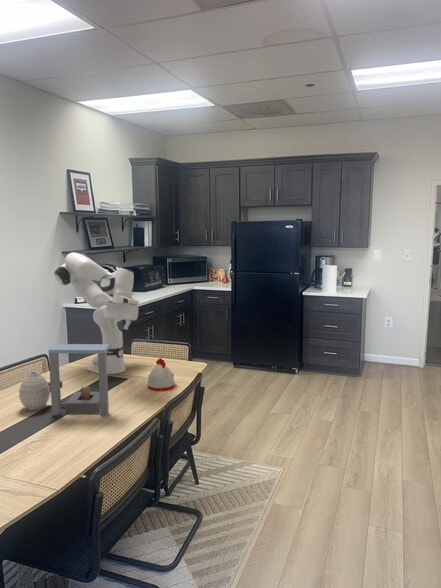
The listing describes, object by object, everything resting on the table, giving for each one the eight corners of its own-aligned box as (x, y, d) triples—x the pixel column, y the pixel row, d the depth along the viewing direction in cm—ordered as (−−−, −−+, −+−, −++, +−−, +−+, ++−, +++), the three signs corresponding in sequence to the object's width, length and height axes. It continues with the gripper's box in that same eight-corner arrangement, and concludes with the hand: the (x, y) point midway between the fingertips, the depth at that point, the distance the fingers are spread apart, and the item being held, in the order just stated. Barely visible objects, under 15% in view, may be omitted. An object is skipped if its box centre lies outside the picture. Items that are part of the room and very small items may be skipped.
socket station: (65, 400, 206) (62, 340, 201) (115, 400, 206) (113, 340, 201) (52, 415, 189) (48, 349, 185) (107, 415, 189) (104, 350, 185)
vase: (21, 404, 200) (18, 370, 198) (50, 401, 205) (49, 367, 202) (19, 415, 189) (16, 379, 186) (50, 411, 193) (48, 375, 191)
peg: (80, 406, 199) (79, 388, 197) (87, 404, 201) (87, 385, 200) (84, 409, 196) (83, 390, 194) (92, 406, 199) (91, 387, 197)
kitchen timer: (156, 393, 216) (155, 364, 213) (142, 385, 226) (142, 357, 224) (179, 387, 224) (179, 359, 222) (165, 379, 235) (165, 353, 233)
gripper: (102, 299, 214) (98, 327, 213) (132, 300, 203) (129, 329, 201) (112, 301, 220) (108, 328, 218) (141, 301, 208) (138, 330, 207)
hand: (118, 328), depth 210 cm, fingers open, 8 cm apart
